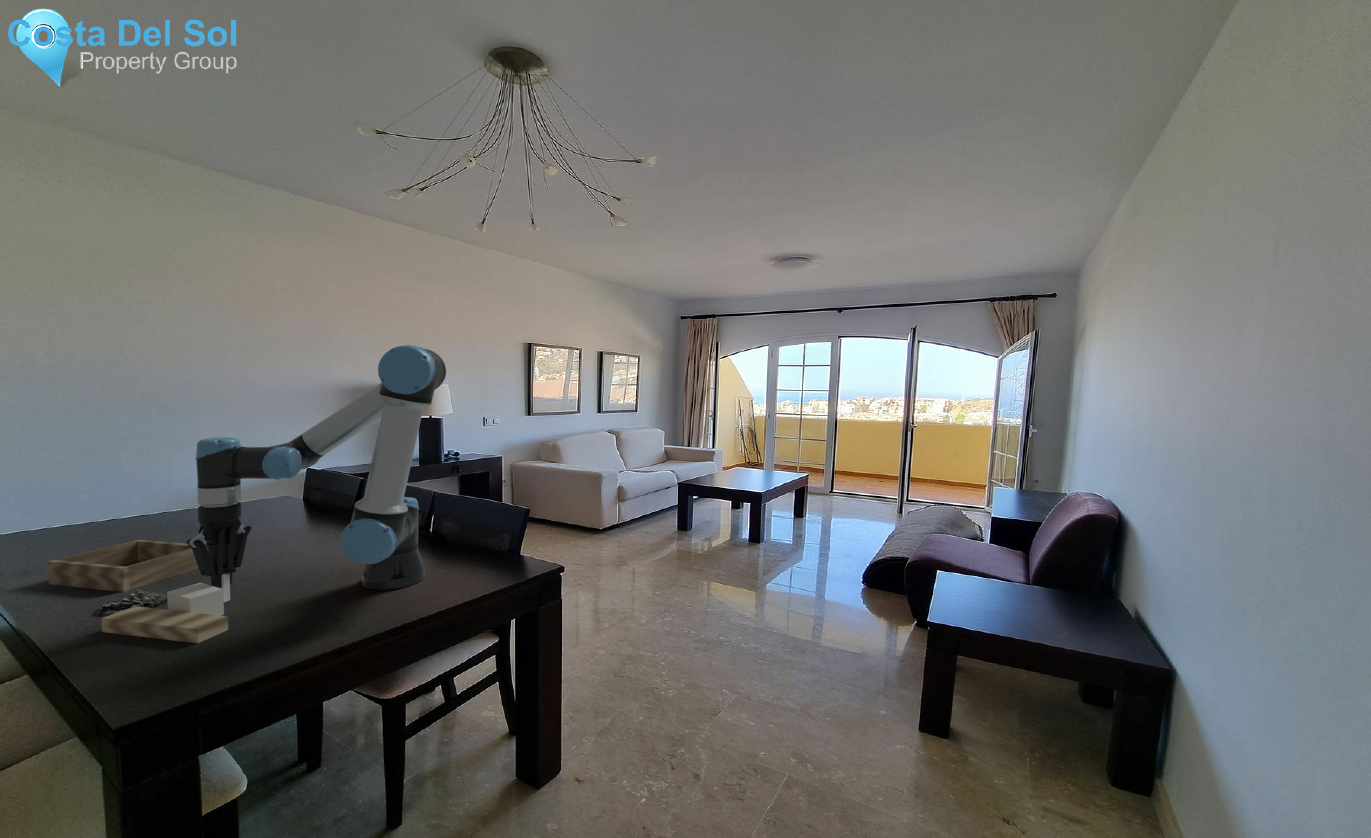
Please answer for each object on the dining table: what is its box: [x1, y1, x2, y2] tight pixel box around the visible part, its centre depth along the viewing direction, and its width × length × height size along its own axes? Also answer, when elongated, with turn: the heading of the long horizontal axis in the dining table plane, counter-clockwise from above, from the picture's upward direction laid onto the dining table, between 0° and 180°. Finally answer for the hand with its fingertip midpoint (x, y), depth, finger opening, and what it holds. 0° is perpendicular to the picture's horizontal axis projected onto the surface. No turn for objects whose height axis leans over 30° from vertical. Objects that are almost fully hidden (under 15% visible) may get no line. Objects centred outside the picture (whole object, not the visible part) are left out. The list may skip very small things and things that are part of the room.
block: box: [166, 582, 225, 616], centre depth 116 cm, size 9×6×6 cm, turn 68°
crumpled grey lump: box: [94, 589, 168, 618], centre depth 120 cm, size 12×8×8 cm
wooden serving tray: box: [47, 539, 199, 593], centre depth 139 cm, size 23×19×6 cm
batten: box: [101, 606, 229, 644], centre depth 109 cm, size 24×6×3 cm, turn 82°
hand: (222, 600), depth 121 cm, fingers closed
